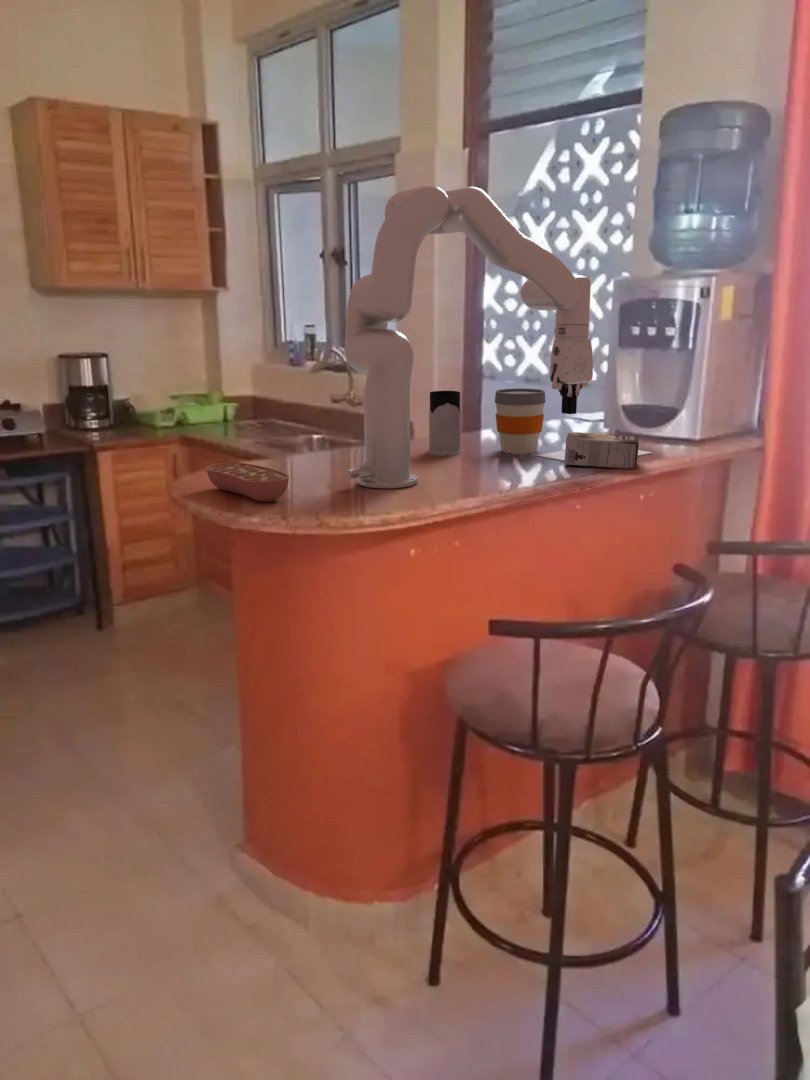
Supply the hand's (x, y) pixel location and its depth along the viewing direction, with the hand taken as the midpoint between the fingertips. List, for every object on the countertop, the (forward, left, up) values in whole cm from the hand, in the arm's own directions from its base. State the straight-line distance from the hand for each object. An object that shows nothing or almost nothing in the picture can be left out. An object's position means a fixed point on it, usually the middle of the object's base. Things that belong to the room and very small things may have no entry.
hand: (568, 413), depth 203 cm
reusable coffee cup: (+1, +17, -11) cm, 20 cm away
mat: (+11, +1, -11) cm, 16 cm away
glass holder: (-13, +30, -11) cm, 35 cm away
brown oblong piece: (-75, +16, -12) cm, 78 cm away
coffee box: (-3, -2, -8) cm, 8 cm away
